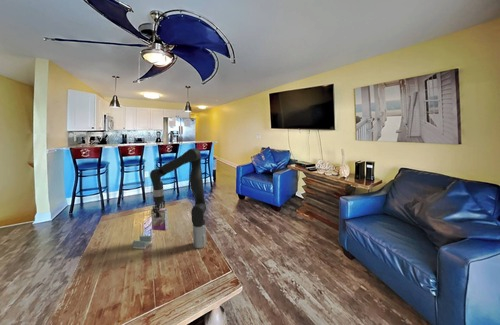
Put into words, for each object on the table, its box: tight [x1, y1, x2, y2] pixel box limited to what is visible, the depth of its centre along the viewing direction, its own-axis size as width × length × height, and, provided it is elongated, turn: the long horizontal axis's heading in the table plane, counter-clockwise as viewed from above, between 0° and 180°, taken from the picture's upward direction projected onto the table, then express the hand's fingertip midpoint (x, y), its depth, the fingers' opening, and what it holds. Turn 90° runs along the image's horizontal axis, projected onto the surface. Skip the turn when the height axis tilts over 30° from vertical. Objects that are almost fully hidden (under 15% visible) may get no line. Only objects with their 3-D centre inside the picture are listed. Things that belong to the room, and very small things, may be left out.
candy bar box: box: [150, 207, 170, 231], centre depth 146 cm, size 11×5×16 cm, turn 84°
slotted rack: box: [132, 234, 153, 250], centre depth 145 cm, size 9×9×5 cm
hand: (159, 215), depth 146 cm, fingers closed on candy bar box, 5 cm apart
